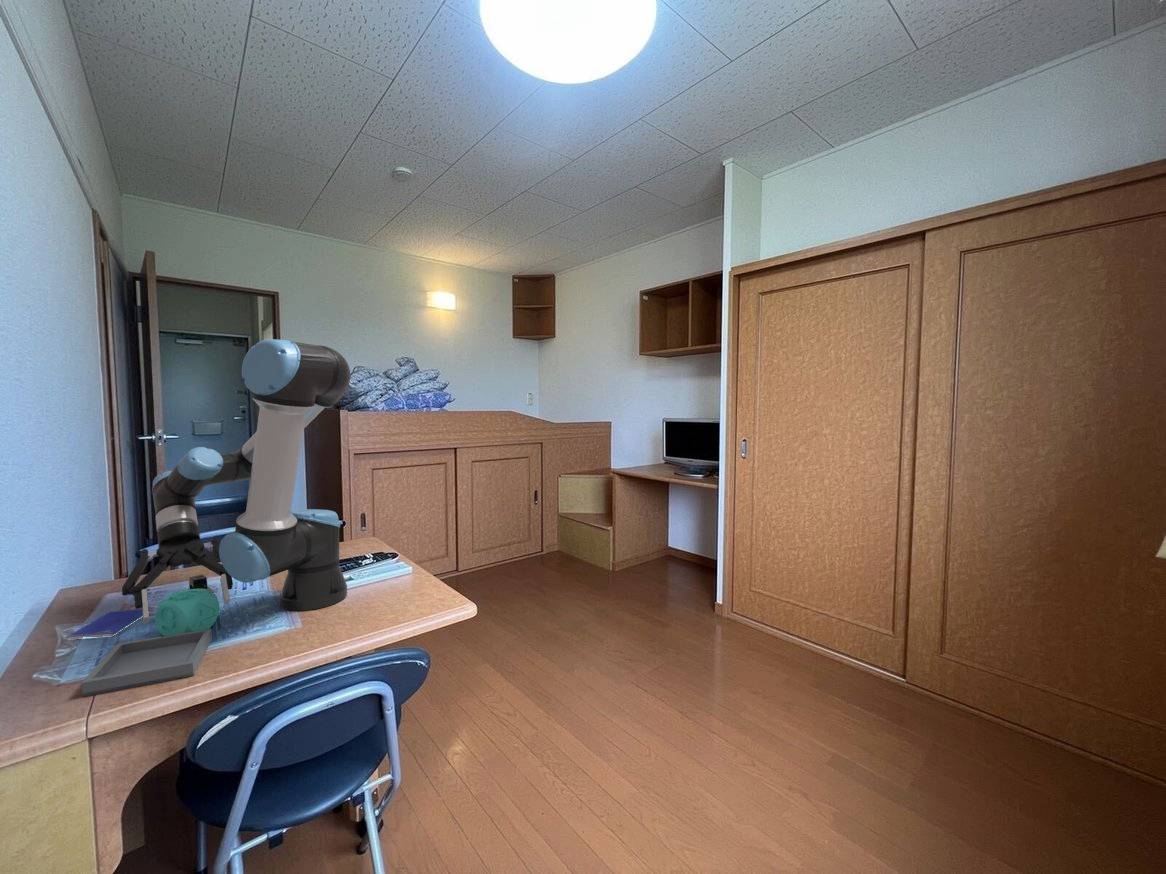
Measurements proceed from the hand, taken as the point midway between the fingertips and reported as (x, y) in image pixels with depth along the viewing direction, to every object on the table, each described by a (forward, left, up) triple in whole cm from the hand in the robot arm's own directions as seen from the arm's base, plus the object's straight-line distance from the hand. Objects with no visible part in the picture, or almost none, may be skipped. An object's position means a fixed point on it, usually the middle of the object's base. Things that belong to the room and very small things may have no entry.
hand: (188, 611), depth 104 cm
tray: (+3, +13, -5) cm, 14 cm away
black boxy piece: (+4, -27, -6) cm, 28 cm away
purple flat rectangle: (+16, -12, -6) cm, 21 cm away
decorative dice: (+1, -2, -5) cm, 6 cm away
